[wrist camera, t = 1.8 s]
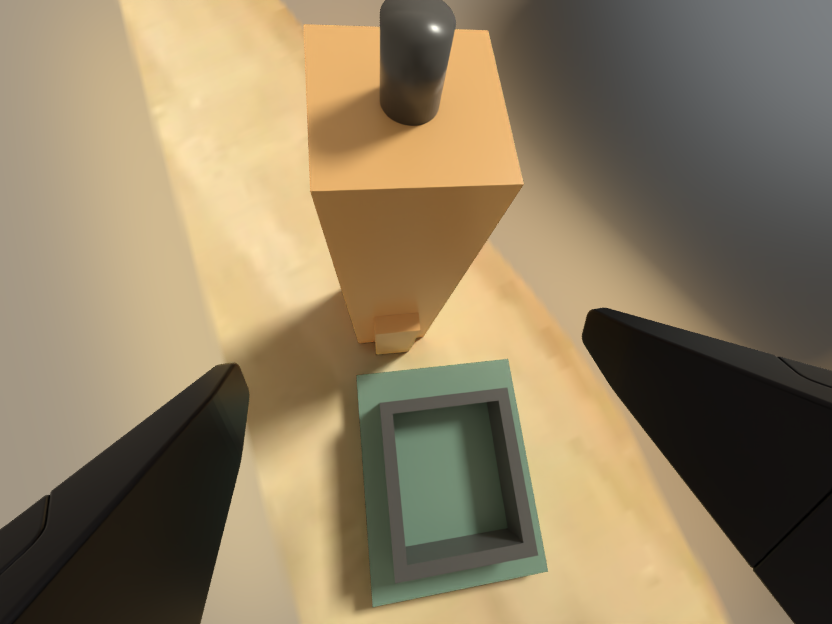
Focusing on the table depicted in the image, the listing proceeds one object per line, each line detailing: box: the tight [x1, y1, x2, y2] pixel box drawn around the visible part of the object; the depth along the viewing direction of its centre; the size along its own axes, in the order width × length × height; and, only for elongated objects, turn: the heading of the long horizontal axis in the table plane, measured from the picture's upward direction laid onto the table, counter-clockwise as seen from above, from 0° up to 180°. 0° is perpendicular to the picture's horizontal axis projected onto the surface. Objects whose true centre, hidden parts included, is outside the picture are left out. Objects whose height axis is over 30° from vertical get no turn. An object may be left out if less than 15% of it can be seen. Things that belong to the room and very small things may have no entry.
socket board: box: [356, 359, 548, 607], centre depth 17 cm, size 11×9×3 cm
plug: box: [304, 0, 524, 355], centre depth 13 cm, size 5×4×16 cm
